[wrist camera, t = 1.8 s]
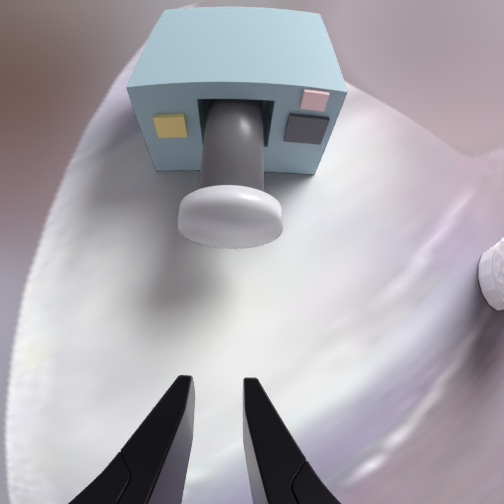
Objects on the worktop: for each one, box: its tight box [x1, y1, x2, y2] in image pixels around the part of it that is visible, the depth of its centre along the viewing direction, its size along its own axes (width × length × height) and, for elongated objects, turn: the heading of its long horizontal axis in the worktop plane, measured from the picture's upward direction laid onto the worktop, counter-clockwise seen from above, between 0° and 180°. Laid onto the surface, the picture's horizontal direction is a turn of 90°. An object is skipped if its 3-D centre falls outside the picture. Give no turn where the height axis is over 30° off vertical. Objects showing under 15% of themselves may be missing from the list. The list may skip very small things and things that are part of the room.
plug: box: [177, 99, 282, 249], centre depth 20 cm, size 14×6×6 cm, turn 0°
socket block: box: [126, 7, 347, 175], centre depth 23 cm, size 12×14×10 cm
